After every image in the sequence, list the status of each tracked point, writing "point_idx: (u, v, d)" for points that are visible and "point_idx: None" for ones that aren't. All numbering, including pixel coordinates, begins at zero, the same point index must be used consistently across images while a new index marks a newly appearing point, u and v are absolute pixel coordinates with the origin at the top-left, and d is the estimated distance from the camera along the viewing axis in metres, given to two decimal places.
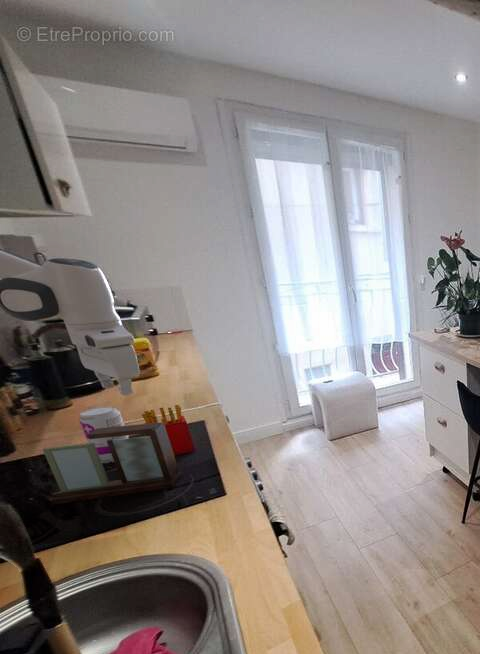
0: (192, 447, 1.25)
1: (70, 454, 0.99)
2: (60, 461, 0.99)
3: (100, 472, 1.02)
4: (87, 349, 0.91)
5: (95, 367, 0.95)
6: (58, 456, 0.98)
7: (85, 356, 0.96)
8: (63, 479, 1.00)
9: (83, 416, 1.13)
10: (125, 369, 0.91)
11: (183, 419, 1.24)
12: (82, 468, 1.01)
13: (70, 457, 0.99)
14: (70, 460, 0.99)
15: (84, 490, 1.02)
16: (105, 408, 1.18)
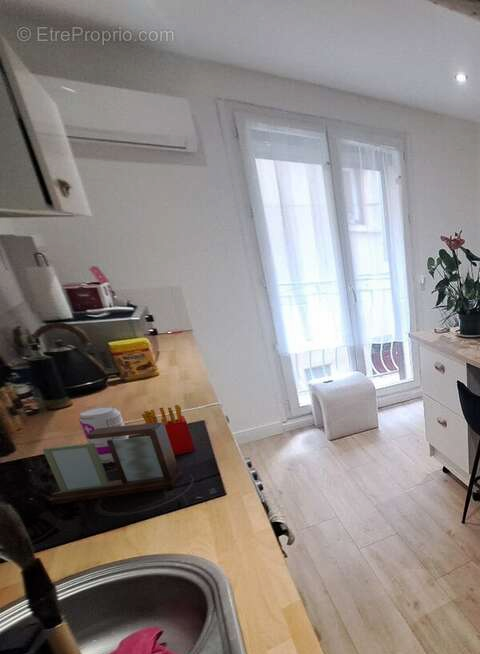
0: (192, 447, 1.25)
1: (70, 454, 0.99)
2: (60, 461, 0.99)
3: (100, 472, 1.02)
4: None
5: None
6: (58, 456, 0.98)
7: None
8: (63, 479, 1.00)
9: (83, 416, 1.13)
10: None
11: (183, 419, 1.24)
12: (82, 468, 1.01)
13: (70, 457, 0.99)
14: (70, 460, 0.99)
15: (84, 490, 1.02)
16: (105, 408, 1.18)
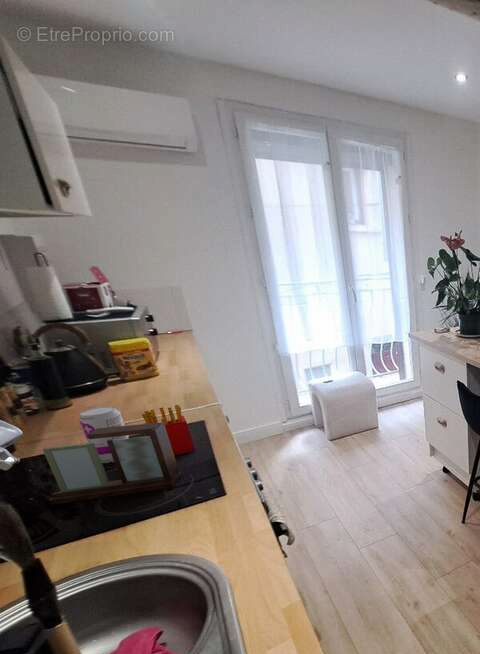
0: (192, 447, 1.25)
1: (70, 454, 0.99)
2: (60, 461, 0.99)
3: (100, 472, 1.02)
4: None
5: None
6: (58, 456, 0.98)
7: None
8: (63, 479, 1.00)
9: (83, 416, 1.13)
10: None
11: (183, 419, 1.24)
12: (82, 468, 1.01)
13: (70, 457, 0.99)
14: (70, 460, 0.99)
15: (84, 490, 1.02)
16: (105, 408, 1.18)
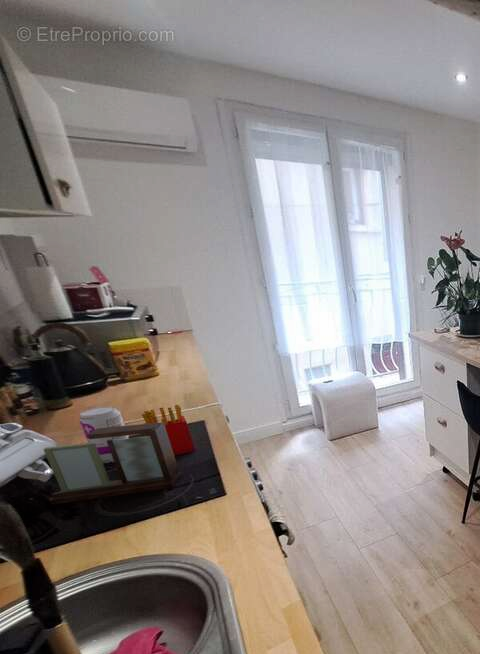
0: (192, 447, 1.25)
1: (71, 453, 0.99)
2: (61, 461, 0.99)
3: (101, 472, 1.02)
4: (6, 441, 0.95)
5: (20, 462, 0.94)
6: (59, 456, 0.98)
7: None
8: (64, 479, 1.00)
9: (83, 416, 1.13)
10: None
11: (183, 419, 1.24)
12: (83, 468, 1.01)
13: (71, 457, 0.99)
14: (70, 460, 0.99)
15: (84, 490, 1.02)
16: (105, 408, 1.18)
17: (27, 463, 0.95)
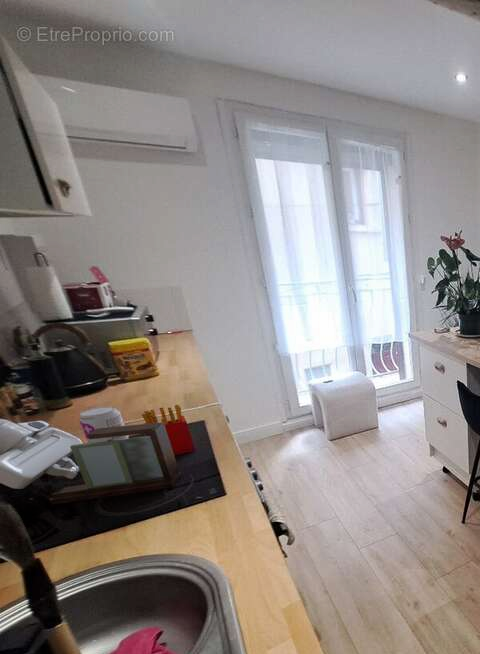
0: (192, 447, 1.25)
1: (97, 451, 1.00)
2: (87, 458, 1.00)
3: (125, 469, 1.04)
4: (34, 439, 0.96)
5: (47, 459, 0.96)
6: (85, 453, 1.00)
7: (24, 462, 0.92)
8: (89, 476, 1.02)
9: (83, 416, 1.13)
10: None
11: (183, 419, 1.24)
12: (108, 465, 1.02)
13: (96, 454, 1.01)
14: (96, 457, 1.01)
15: (84, 490, 1.02)
16: (105, 408, 1.18)
17: (54, 460, 0.97)
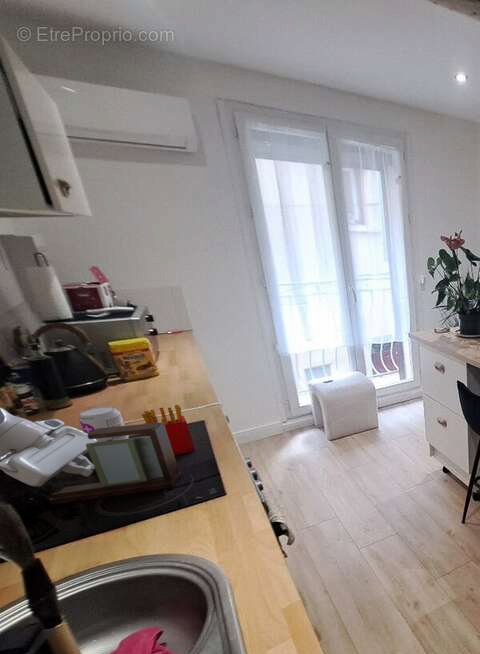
0: (192, 447, 1.25)
1: (112, 449, 1.01)
2: (102, 456, 1.01)
3: (139, 467, 1.05)
4: (51, 437, 0.97)
5: (64, 457, 0.97)
6: (100, 451, 1.01)
7: (42, 460, 0.93)
8: (104, 474, 1.03)
9: (83, 416, 1.13)
10: None
11: (183, 419, 1.24)
12: (122, 463, 1.03)
13: (111, 452, 1.02)
14: (111, 455, 1.02)
15: (84, 490, 1.02)
16: (105, 408, 1.18)
17: (71, 458, 0.98)
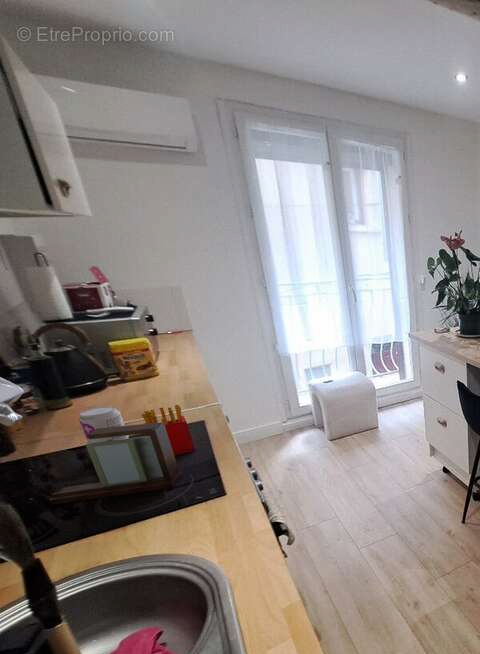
0: (192, 447, 1.25)
1: (112, 449, 1.01)
2: (102, 456, 1.01)
3: (139, 467, 1.05)
4: None
5: None
6: (100, 451, 1.01)
7: None
8: (104, 474, 1.03)
9: (83, 416, 1.13)
10: None
11: (183, 419, 1.24)
12: (122, 463, 1.03)
13: (111, 452, 1.02)
14: (111, 455, 1.02)
15: (84, 490, 1.02)
16: (105, 408, 1.18)
17: None
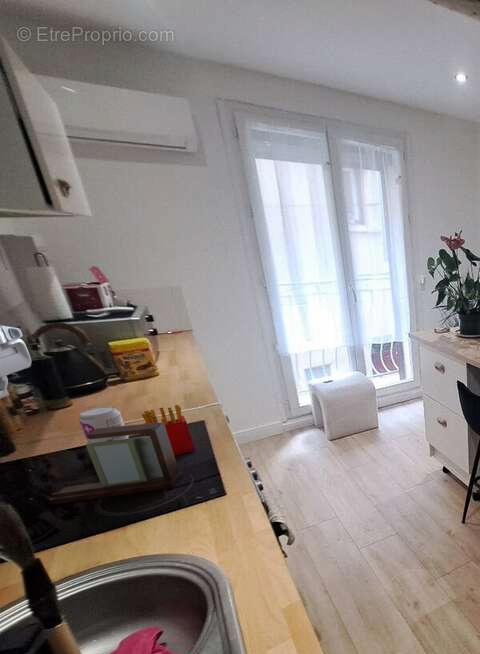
0: (192, 447, 1.25)
1: (112, 449, 1.01)
2: (102, 456, 1.01)
3: (139, 467, 1.05)
4: (0, 348, 0.89)
5: None
6: (100, 451, 1.01)
7: None
8: (104, 474, 1.03)
9: (83, 416, 1.13)
10: None
11: (183, 419, 1.24)
12: (122, 463, 1.03)
13: (111, 452, 1.02)
14: (111, 455, 1.02)
15: (84, 490, 1.02)
16: (105, 408, 1.18)
17: None
